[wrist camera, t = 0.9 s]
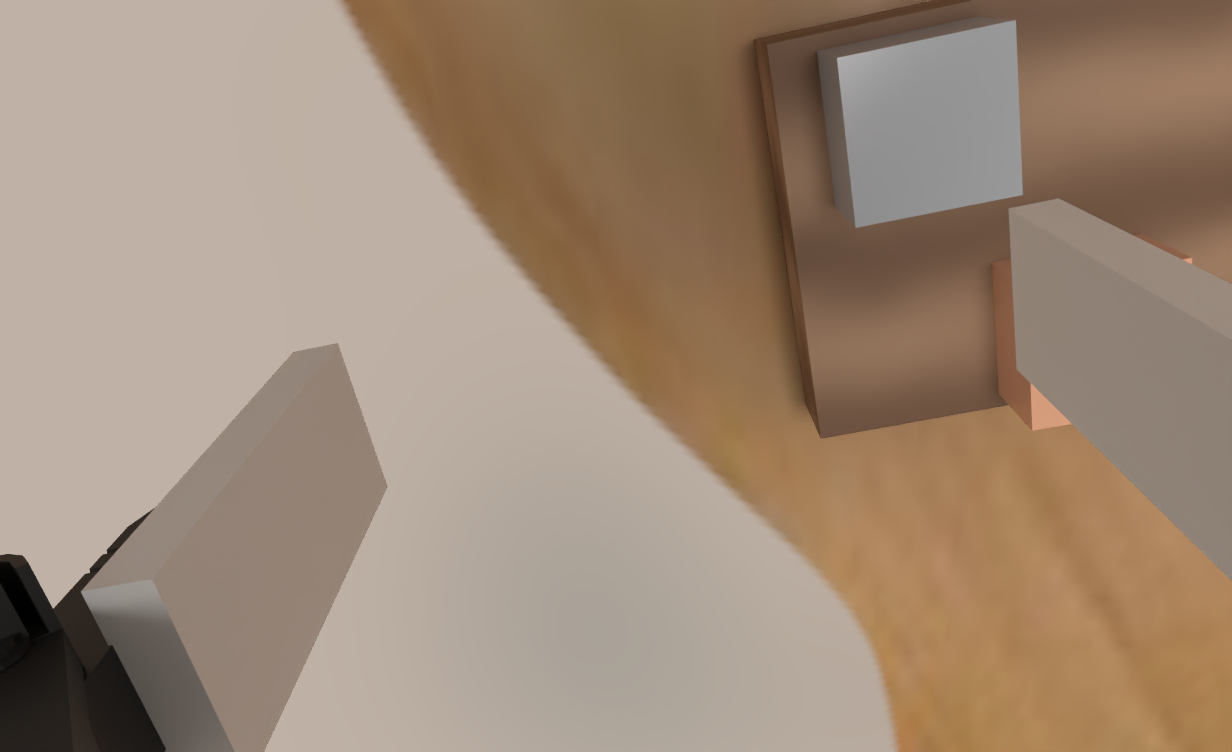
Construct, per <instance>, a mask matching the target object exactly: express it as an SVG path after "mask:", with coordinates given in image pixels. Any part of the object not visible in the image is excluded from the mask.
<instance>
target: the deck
mask: <svg viewBox="0 0 1232 752" xmlns="http://www.w3.org/2000/svg"><path fill="white" fill-rule="evenodd" d="M974 17H989V18H1000V19H1011V20H1016V36H1017V61H1018V86H1019V111H1020V136H1021V161H1022V185H1023V195H1020V196H1015V197H1010V198H1005V199H1000V200H995V201H989V202H984V203H979V204H974V205H969V206H964V207H959V208H954V209H949V210H944V211H939V212H934V213H929V214H924V215H919V216H913V217H908V218H903V219H898V220H893V221H888V222H883V223H878V224H873V225H868V226H863V227H858V228H855V227H854V226H853V225H852V224H851V222H850V221H849V220H848V219H847V218H846V217H845V216H844V215H843V214H842V213H841V212H840V211H839V210H838V209H837V208H836V207H835V202H834V193H833V185H832V176H831V168H830V159H829V151H828V142H827V134H826V125H825V117H824V108H823V100H822V91H821V83H820V74H819V66H818V57H817V51H819V50H824V49H829V48H833V47H838V46H843V45H847V44H852V43H857V42H862V41H866V40H871V39H876V38H880V37H885V36H890V35H894V34H899V33H904V32H908V31H913V30H918V29H922V28H927V27H932V26H936V25H941V24H946V23H950V22H955V21H960V20H964V19H969V18H974ZM754 40H755V47H756V54H757V61H758V68H759V75H760V82H761V89H762V96H763V103H764V110H765V117H766V125H767V132H768V139H769V146H770V153H771V160H772V167H773V174H774V181H775V188H776V195H777V202H778V209H779V217H780V224H781V231H782V238H783V245H784V252H785V259H786V266H787V273H788V280H789V287H790V294H791V301H792V309H793V316H794V323H795V330H796V337H797V344H798V351H799V358H800V365H801V372H802V379H803V386H804V393H805V400H806V406H807V408H808V410H809V413H810V415H811V417H812V420H813V422H814V424H815V426H816V429H817V431H818V433H819V436H820V438H827V437H833V436H838V435H844V434H849V433H855V432H861V431H866V430H872V429H877V428H883V427H888V426H894V425H900V424H905V423H911V422H916V421H922V420H927V419H933V418H939V417H944V416H950V415H955V414H961V413H967V412H972V411H978V410H983V409H989V408H994V407H1000V406H1006V405H1008V404H1007V403H1006V401H1005V400H1004V399H1003V398H1002V397H1001V396H1000V395H999V387H998V369H997V351H996V332H995V314H994V296H993V277H992V262H998V261H1003V260H1008V259H1011V248H1010V229H1009V208H1014V207H1019V206H1024V205H1029V204H1034V203H1039V202H1044V201H1049V200H1054V199H1058V198H1059V199H1061V200H1063V201H1065V202H1067V203H1069V204H1071V205H1073V206H1075V207H1077V208H1079V209H1081V210H1083V211H1085V212H1087V213H1089V214H1091V215H1093V216H1095V217H1097V218H1099V219H1101V220H1103V221H1105V222H1107V223H1109V224H1111V225H1113V226H1115V227H1117V228H1119V229H1121V230H1123V231H1125V232H1127V233H1129V234H1131V235H1138V234H1144V235H1146V236H1148V237H1150V238H1152V239H1154V240H1156V241H1158V242H1161V243H1163V244H1165V245H1167V246H1169V247H1171V248H1173V249H1175V250H1177V251H1179V252H1181V253H1183V254H1185V255H1188V256H1190V257H1192V265H1194V266H1196V267H1198V268H1200V269H1202V270H1204V271H1206V272H1208V273H1210V274H1212V275H1214V276H1216V277H1218V278H1220V279H1222V280H1224V281H1226V282H1228V283H1230V284H1232V0H935V1H930V2H926V3H921V4H916V5H912V6H907V7H903V8H898V9H893V10H889V11H884V12H879V13H875V14H870V15H865V16H861V17H856V18H852V19H847V20H842V21H838V22H833V23H828V24H824V25H819V26H815V27H810V28H805V29H801V30H796V31H791V32H787V33H782V34H778V35H773V36H768V37H764V38H759V39H754Z"/></svg>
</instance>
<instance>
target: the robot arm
mask: <svg viewBox="0 0 1232 752" xmlns="http://www.w3.org/2000/svg"><path fill="white" fill-rule="evenodd" d="M1009 229H1010V248H1011V268H1012V288H1013V307H1014V327H1015V347H1016V367H1017V370H1018V371H1019V372H1020V373H1021V374H1022V375H1023V376H1024V377H1025V378H1026V379H1027V380H1028V381H1029V382H1030V383H1031V384H1032V385H1033V386H1034V387H1035V388H1036V389H1037V390H1038V391H1039V392H1040V393H1041V394H1042V395H1043V396H1044V397H1045V398H1046V399H1047V400H1048V401H1049V402H1050V403H1051V404H1052V405H1053V406H1054V407H1055V408H1056V409H1057V410H1058V411H1059V412H1061V413H1062V414H1063V415H1064V416H1065V417H1066V418H1067V419H1068V420H1069V421H1070V422H1071V423H1072V424H1073V425H1074V426H1075V427H1076V428H1077V429H1078V430H1079V431H1080V432H1081V433H1082V434H1083V435H1084V436H1085V437H1086V438H1087V439H1088V440H1089V441H1090V442H1091V443H1092V444H1093V445H1094V446H1095V447H1096V448H1097V449H1098V450H1099V451H1100V452H1101V453H1102V454H1103V455H1104V456H1105V457H1106V458H1107V459H1108V460H1109V461H1110V462H1111V463H1112V464H1113V465H1114V466H1115V467H1116V468H1117V469H1119V470H1120V471H1121V472H1122V473H1123V474H1124V475H1125V476H1126V477H1127V478H1128V479H1129V480H1130V481H1131V482H1132V483H1133V484H1134V485H1135V486H1136V487H1137V488H1138V489H1139V490H1140V491H1141V492H1142V493H1143V494H1144V495H1145V496H1146V497H1147V498H1148V499H1149V500H1150V501H1151V502H1152V503H1153V504H1154V505H1155V506H1156V507H1157V508H1158V509H1159V510H1160V511H1161V512H1162V513H1163V514H1164V515H1165V516H1166V517H1167V518H1168V519H1169V520H1170V521H1171V522H1172V523H1173V524H1174V525H1175V526H1177V527H1178V528H1179V529H1180V530H1181V531H1182V532H1183V533H1184V534H1185V535H1186V536H1187V537H1188V538H1189V539H1190V540H1191V541H1192V542H1193V543H1194V544H1195V545H1196V546H1197V547H1198V548H1199V549H1200V550H1201V551H1202V552H1203V553H1204V554H1205V555H1206V556H1207V557H1208V558H1209V559H1210V560H1211V561H1212V562H1213V563H1214V564H1215V565H1216V566H1217V567H1218V568H1219V569H1220V570H1221V571H1222V572H1223V573H1224V574H1225V575H1226V576H1227V577H1228V578H1229V579H1230V580H1231V581H1232V284H1230V283H1228V282H1226V281H1224V280H1222V279H1220V278H1218V277H1216V276H1214V275H1212V274H1210V273H1208V272H1206V271H1204V270H1202V269H1200V268H1198V267H1196V266H1194V265H1192V264H1190V263H1188V262H1186V261H1184V260H1182V259H1180V258H1178V257H1176V256H1174V255H1172V254H1170V253H1168V252H1166V251H1164V250H1162V249H1160V248H1158V247H1156V246H1154V245H1152V244H1150V243H1148V242H1146V241H1144V240H1142V239H1140V238H1138V237H1135V236H1133V235H1131V234H1129V233H1127V232H1125V231H1123V230H1121V229H1119V228H1117V227H1115V226H1113V225H1111V224H1109V223H1107V222H1105V221H1103V220H1101V219H1099V218H1097V217H1095V216H1093V215H1091V214H1089V213H1087V212H1085V211H1083V210H1081V209H1079V208H1077V207H1075V206H1073V205H1071V204H1069V203H1067V202H1065V201H1063V200H1061V199H1059V198H1058V199H1054V200H1049V201H1044V202H1039V203H1034V204H1029V205H1024V206H1019V207H1014V208H1009ZM386 488H387V484H386V481H385V478H384V475H383V472H382V469H381V467H380V464H379V461H378V458H377V455H376V452H375V450H374V446H373V444H372V441H371V438H370V435H369V432H368V429H367V426H366V424H365V422H364V418H363V415H362V412H361V409H360V406H359V403H358V401H357V398H356V395H355V392H354V389H353V386H352V383H351V381H350V378H349V375H348V372H347V369H346V366H345V363H344V361H343V357H342V355H341V352H340V349H339V346H338V344H332V345H327V346H322V347H317V348H312V349H307V350H302V351H297V352H293V353H292V354H291V356H290V357H289V358H288V359H287V361H285V362H284V363H283V365H282V366H281V367H280V368H279V369H278V370H277V372H276V373H275V374H274V375H273V376H272V377H271V378H270V379H269V380H268V381H267V383H266V384H265V385H264V386H263V387H262V388H261V389H260V390H259V392H258V393H257V394H256V395H255V396H254V397H253V398H252V399H251V401H250V402H249V403H248V404H247V405H246V406H245V407H244V409H243V410H242V411H241V412H240V413H239V414H238V415H237V416H236V418H235V419H234V420H233V421H232V422H231V423H230V424H229V425H228V427H227V428H226V429H225V430H224V431H223V432H222V433H221V435H219V437H218V438H217V439H216V440H215V441H214V442H213V443H212V444H211V446H210V447H209V448H208V449H207V450H206V451H205V452H204V453H203V455H202V456H201V457H200V458H199V459H198V460H197V461H196V462H195V464H194V465H193V466H192V467H191V468H190V469H189V470H188V472H187V473H186V474H185V475H184V476H183V477H182V478H181V480H179V482H178V483H177V484H176V485H175V486H174V487H173V488H172V489H171V491H170V492H169V493H168V494H167V495H166V496H165V497H164V499H163V500H162V501H161V502H160V503H159V504H158V505H157V506H156V507H155V508H154V509H153V510H151V511H150V512H148V513H147V514H146V515H144V516H143V517H141V518H140V519H138V520H137V521H135V522H134V523H133V524H132V525H130V526H128V527H127V529H125V531H124V532H123V533H122V534H121V535H120V536H119V537H118V538H117V539H116V541H115V542H114V543H113V544H112V545H111V546H110V547H109V548H108V549H107V554H104V555H102V556H101V557H100V558H99V559H98V560H97V561H96V563H95V564H94V565H93V566H92V567H91V568H90V573H88V574H85V575H84V576H83V577H82V578H81V579H80V580H79V581H78V582H77V583H76V585H75V586H74V587H73V588H72V589H71V590H70V591H69V592H68V593H67V595H66V596H65V597H64V598H63V599H62V600H61V601H60V602H59V603H58V604H57V605H56V607H55V608H54V609H53V608H52V606H51V604H50V603H49V601H48V599H47V597H46V595H45V593H44V592H43V589H42V588H41V586H40V584H39V582H38V580H37V578H36V576H35V575H34V573H33V571H32V569H31V567H30V565H29V563H28V562H27V561H26V559H25V558H24V557H23V556H21V555H12V554H5V555H0V752H264V750H265V748H266V746H267V744H268V742H269V740H270V738H271V735H272V733H273V731H274V729H275V727H276V724H277V722H278V720H279V718H280V716H281V714H282V712H283V710H284V707H285V705H286V703H287V701H288V699H289V697H290V695H291V692H292V690H293V688H294V686H295V684H296V682H297V680H298V677H299V675H300V673H301V671H302V669H303V666H304V664H305V662H306V660H307V658H308V656H309V654H310V652H311V650H312V647H313V645H314V643H315V641H316V639H317V636H318V635H319V632H320V630H321V628H322V626H323V624H324V622H325V619H326V617H327V615H328V613H329V611H330V609H331V607H332V604H333V602H334V600H335V598H336V596H337V594H338V592H339V589H340V587H341V585H342V583H343V581H344V579H345V577H346V574H347V572H348V570H349V568H350V566H351V563H352V562H353V559H354V557H355V555H356V553H357V551H358V549H359V546H360V544H361V542H362V540H363V538H364V536H365V534H366V531H367V529H368V527H369V525H370V523H371V521H372V519H373V516H374V514H375V512H376V510H377V508H378V506H379V504H380V501H381V499H382V497H383V495H384V493H385V490H386Z"/></svg>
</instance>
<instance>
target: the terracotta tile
mask: <svg viewBox="0 0 1232 752" xmlns="http://www.w3.org/2000/svg"><path fill="white" fill-rule="evenodd" d="M1133 236H1135V237H1138V238H1140V239H1142V240H1144V241H1146V242H1148V243H1150V244H1152V245H1154V246H1156V247H1158V248H1160V249H1162V250H1164V251H1166V252H1168V253H1170V254H1172V255H1174V256H1176V257H1178V258H1180V259H1182V260H1184V261H1186V262H1188V263H1190V264H1192V257H1190V256H1188V255H1185V254H1183V253H1181V252H1179V251H1177V250H1175V249H1173V248H1171V247H1169V246H1167V245H1165V244H1163V243H1161V242H1158V241H1156V240H1154V239H1152V238H1150V237H1148V236H1146V235H1144V234H1138V235H1133ZM992 277H993V296H994V314H995V332H996V351H997V369H998V387H999V395H1000V396H1001V397H1002V398H1003V399H1004V400H1005V401H1006V403H1007V404H1008V405H1009V406H1010V407H1011V408H1012V409H1013V410H1014V411H1015V412H1016V413H1017V415H1018V416H1019V417H1020V418H1021V419H1022V420H1023V421H1024V422H1025V423H1026V424H1027V425H1028V427H1029V428H1030V429H1031V430H1032V431H1034V430H1040V429H1045V428H1051V427H1057V426H1062V425H1068V424H1072V423H1071V422H1070V421H1069V420H1068V419H1067V418H1066V417H1065V416H1064V415H1063V414H1062V413H1061V412H1059V411H1058V410H1057V409H1056V408H1055V407H1054V406H1053V405H1052V404H1051V403H1050V402H1049V401H1048V400H1047V399H1046V398H1045V397H1044V396H1043V395H1042V394H1041V393H1040V392H1039V391H1038V390H1037V389H1036V388H1035V387H1034V386H1033V385H1032V384H1031V383H1030V382H1029V381H1028V380H1027V379H1026V378H1025V377H1024V376H1023V375H1022V374H1021V373H1020V372H1019V371H1018V370H1017V367H1016V347H1015V327H1014V307H1013V288H1012V268H1011V259H1008V260H1003V261H998V262H992Z"/></svg>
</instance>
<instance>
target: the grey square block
mask: <svg viewBox="0 0 1232 752" xmlns="http://www.w3.org/2000/svg"><path fill="white" fill-rule="evenodd" d="M817 57H818V66H819V74H820V83H821V91H822V100H823V108H824V117H825V125H826V134H827V142H828V151H829V159H830V168H831V176H832V185H833V193H834V202H835V207H836V208H837V209H838V210H839V211H840V212H841V213H842V214H843V215H844V216H845V217H846V218H847V219H848V220H849V221H850V222H851V224H852V225H853V226H854V227H855V228H858V227H863V226H868V225H873V224H878V223H883V222H888V221H893V220H898V219H903V218H908V217H913V216H919V215H924V214H929V213H934V212H939V211H944V210H949V209H954V208H959V207H964V206H969V205H974V204H979V203H984V202H989V201H995V200H1000V199H1005V198H1010V197H1015V196H1020V195H1023V185H1022V161H1021V136H1020V111H1019V86H1018V61H1017V36H1016V20H1011V19H1000V18H989V17H974V18H969V19H964V20H960V21H955V22H950V23H946V24H941V25H936V26H932V27H927V28H922V29H918V30H913V31H908V32H904V33H899V34H894V35H890V36H885V37H880V38H876V39H871V40H866V41H862V42H857V43H852V44H847V45H843V46H838V47H833V48H829V49H824V50H819V51H817Z"/></svg>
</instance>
